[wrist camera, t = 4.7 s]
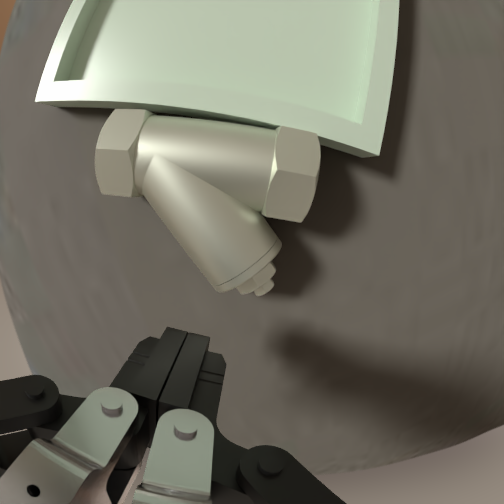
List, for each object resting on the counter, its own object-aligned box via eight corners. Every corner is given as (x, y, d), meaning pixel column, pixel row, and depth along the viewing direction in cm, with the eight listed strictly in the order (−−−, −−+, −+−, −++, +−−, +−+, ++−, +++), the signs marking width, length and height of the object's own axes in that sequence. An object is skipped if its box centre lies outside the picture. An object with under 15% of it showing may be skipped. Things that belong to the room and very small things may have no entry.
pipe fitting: (278, 282, 14) (304, 143, 13) (291, 318, 10) (328, 129, 9) (120, 257, 14) (136, 121, 12) (83, 282, 10) (101, 103, 8)
